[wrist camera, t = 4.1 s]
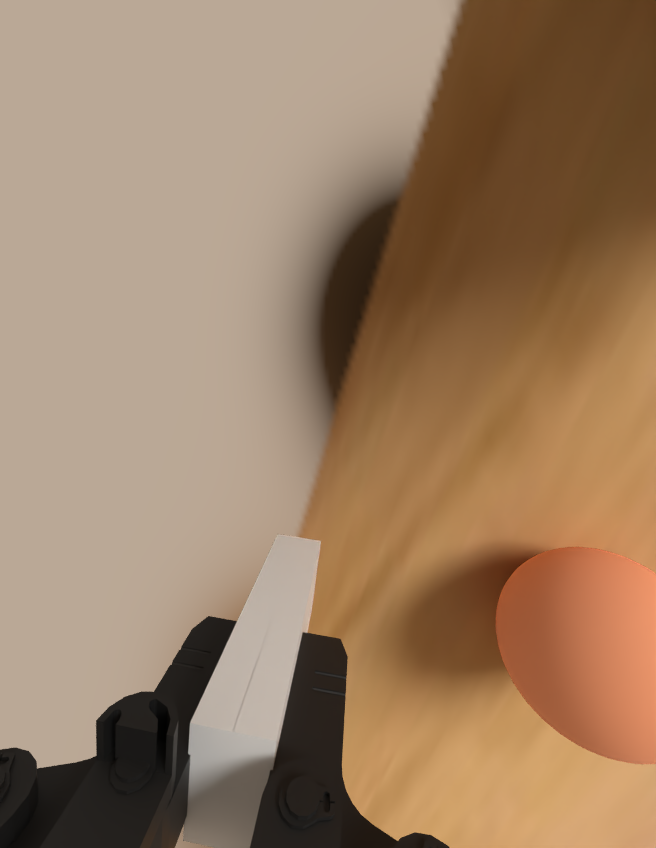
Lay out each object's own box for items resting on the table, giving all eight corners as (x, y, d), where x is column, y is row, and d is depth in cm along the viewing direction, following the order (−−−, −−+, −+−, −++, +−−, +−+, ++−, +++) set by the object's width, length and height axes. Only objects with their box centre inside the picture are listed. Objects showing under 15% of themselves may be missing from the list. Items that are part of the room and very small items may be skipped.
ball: (492, 506, 14) (575, 610, 8) (649, 531, 13) (842, 655, 8) (461, 634, 15) (517, 797, 9) (605, 659, 14) (748, 844, 9)
